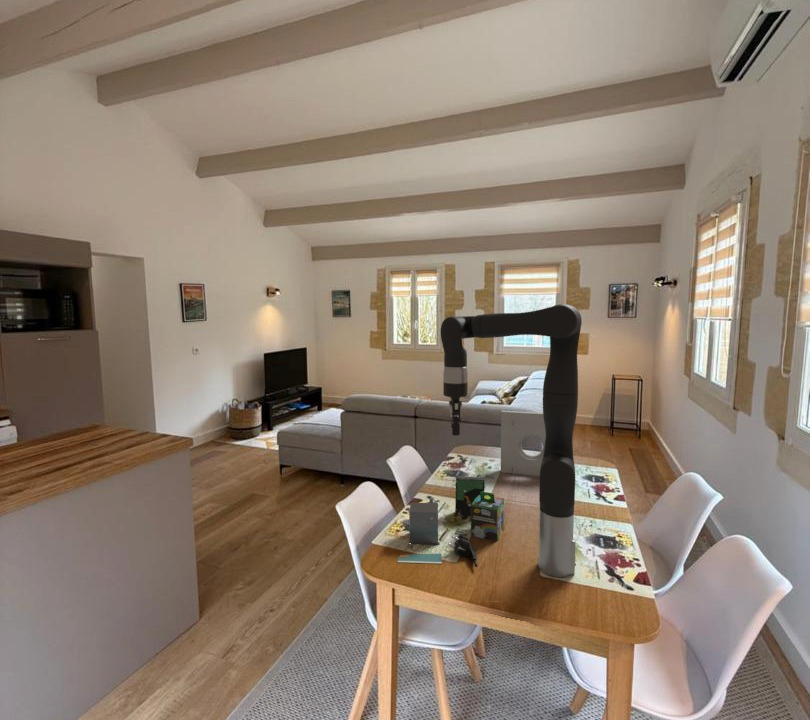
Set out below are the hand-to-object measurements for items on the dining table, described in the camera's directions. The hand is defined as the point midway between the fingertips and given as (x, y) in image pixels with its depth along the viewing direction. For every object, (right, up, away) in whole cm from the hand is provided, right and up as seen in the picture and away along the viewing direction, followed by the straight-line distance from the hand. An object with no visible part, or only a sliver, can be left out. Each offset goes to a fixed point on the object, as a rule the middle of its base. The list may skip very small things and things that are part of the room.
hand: (455, 431), depth 138 cm
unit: (-10, -36, +4) cm, 37 cm away
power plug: (+2, -35, -14) cm, 38 cm away
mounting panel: (+40, -31, +56) cm, 75 cm away
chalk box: (+12, -36, +8) cm, 38 cm away
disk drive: (+7, -35, +20) cm, 41 cm away
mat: (-11, -37, -5) cm, 39 cm away
